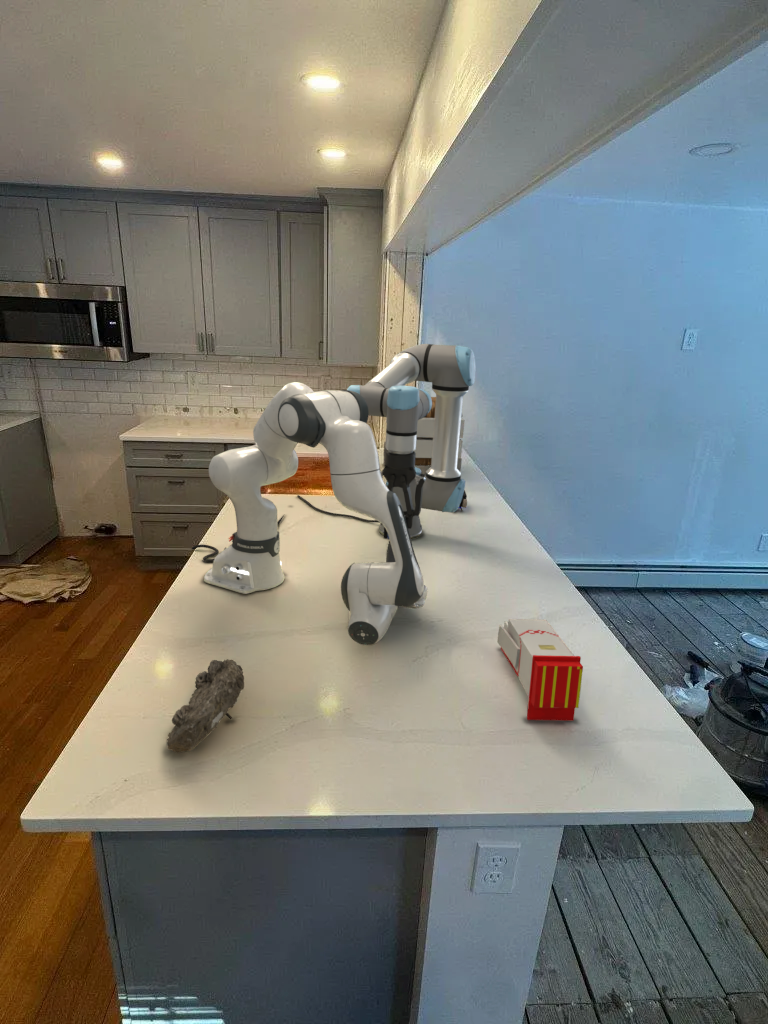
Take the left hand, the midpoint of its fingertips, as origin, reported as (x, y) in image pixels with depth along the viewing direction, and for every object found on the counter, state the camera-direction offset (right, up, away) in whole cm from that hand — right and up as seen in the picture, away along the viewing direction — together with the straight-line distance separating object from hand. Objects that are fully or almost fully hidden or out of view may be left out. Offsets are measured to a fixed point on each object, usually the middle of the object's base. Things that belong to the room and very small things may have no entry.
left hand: (394, 577), depth 152 cm
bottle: (0, -7, +1) cm, 7 cm away
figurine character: (+27, +19, +77) cm, 84 cm away
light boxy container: (+14, +36, +123) cm, 129 cm away
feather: (-40, +15, +57) cm, 71 cm away
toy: (+29, -19, -29) cm, 45 cm away
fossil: (-36, -21, -44) cm, 61 cm away
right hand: (0, +11, -5) cm, 12 cm away
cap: (0, +13, -6) cm, 14 cm away
